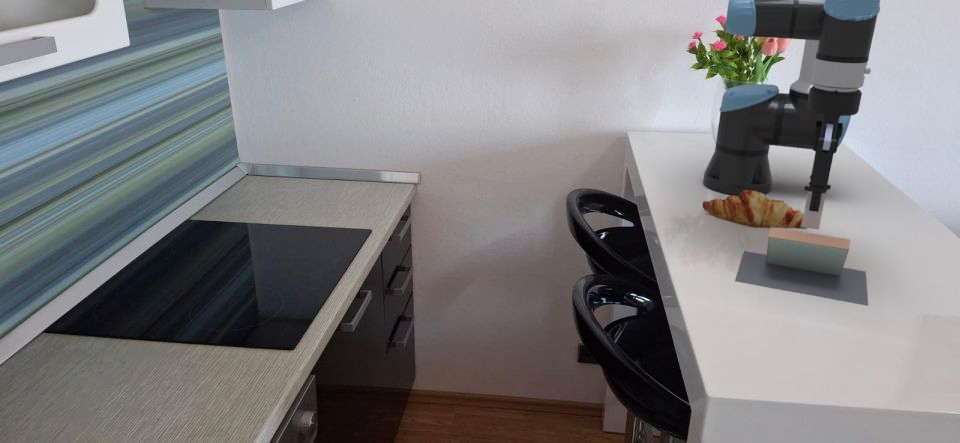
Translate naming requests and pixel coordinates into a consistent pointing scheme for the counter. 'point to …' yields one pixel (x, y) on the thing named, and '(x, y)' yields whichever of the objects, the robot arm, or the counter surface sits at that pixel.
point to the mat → (803, 280)
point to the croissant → (755, 210)
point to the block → (807, 251)
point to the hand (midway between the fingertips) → (810, 226)
